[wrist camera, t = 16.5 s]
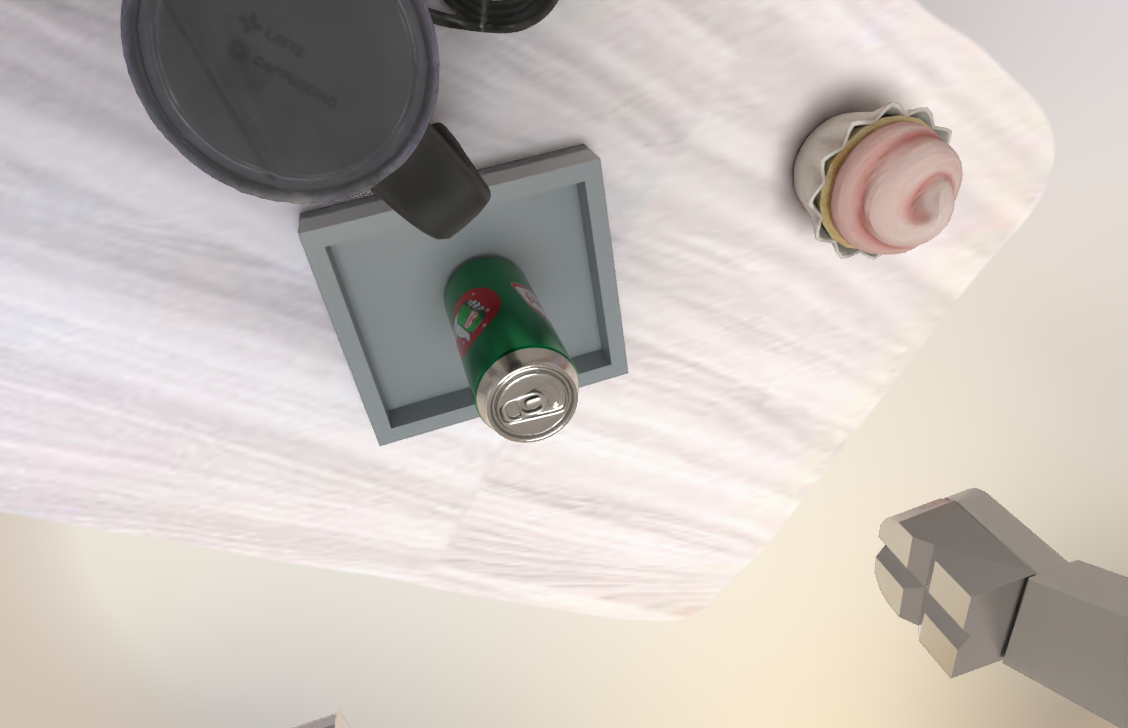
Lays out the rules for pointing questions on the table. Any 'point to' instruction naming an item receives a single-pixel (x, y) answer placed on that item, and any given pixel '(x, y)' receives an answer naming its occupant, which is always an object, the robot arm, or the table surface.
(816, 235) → the cupcake
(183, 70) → the milk frother
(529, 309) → the soda can
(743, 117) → the table surface
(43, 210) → the table surface
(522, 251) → the tray
